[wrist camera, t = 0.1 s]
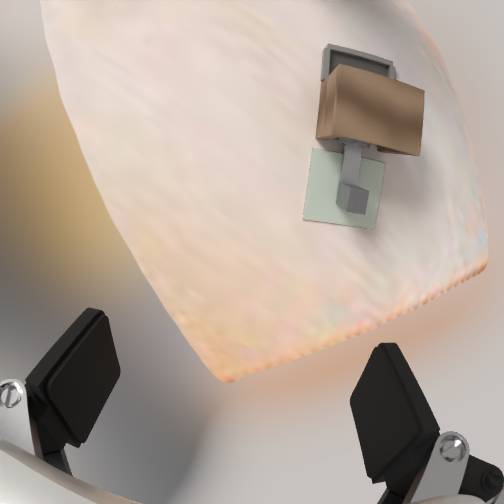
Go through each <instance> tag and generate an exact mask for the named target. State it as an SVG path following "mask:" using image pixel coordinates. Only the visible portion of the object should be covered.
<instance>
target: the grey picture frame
mask: <svg viewBox="0 0 504 504" xmlns="http://www.w3.org/2000/svg"><path fill="white" fill-rule="evenodd" d="M339 64H342V65H347V66H351V67H355V68H358V69H362V70H366V71H369V72H373V73H376V74H379V75H382V76H386V77H389V78H392V79H395V67H393V62H392V61H389V60H386V59H383V58H380V57H377V56H374V55H371V54H367V53H364V52H360V51H357V50H353V49H349V48H345V47H341V46H336V45H332V44H327V46H326V48H324V50H323V58H322V71H321V81H324V80H325V79H326V78H327V77H328V76H329V75H330V74H331V73H332V71H333V70H334V69H335V68H336V67H337V66H338V65H339Z"/></svg>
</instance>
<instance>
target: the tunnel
mask: <svg viewBox="0 0 504 504" xmlns="http://www.w3.org/2000/svg"><path fill="white" fill-rule="evenodd" d="M424 92H425V91H424V90H421V89H419V88H416V87H414V86H411V85H409V84H406V83H403V82H400V81H397V80H395V79H392V78H389V77H386V76H382V75H379V74H376V73H373V72H369V71H366V70H362V69H358V68H355V67H351V66H347V65H342V64H339V65H338V66H337V67H336V68H335V69H334V70H333V71H332V73H331V74H330V75H329V76H328V77H327V78H326V79H325V80H324V81H323V82H322V84H321V91H320V102H319V112H318V121H317V130H316V138H318V139H323V140H325V139H332V138H339V137H344V138H349V139H353V140H358V141H362V142H366V143H371V144H375V145H378V150H377V151H380V152H384V153H394V154H404V155H414V156H419V155H420V147H421V138H422V127H423V113H424Z"/></svg>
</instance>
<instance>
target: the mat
mask: <svg viewBox="0 0 504 504" xmlns="http://www.w3.org/2000/svg"><path fill="white" fill-rule="evenodd" d="M342 160H343V154H341V153H336V152H331V151H325V150H319V149H313V148H312V154H311V162H310V169H309V177H308V184H307V191H306V198H305V205H304V212H303V218H302V219H305V220H313V221H320V222H327V223H335V224H342V225H349V226H355V227H362V228H369V229H374V225H375V220H376V215H377V211H378V205H379V200H380V195H381V189H382V183H383V177H384V171H385V164H386V163H383V162H379V161H374V160H370V159H365V158H361V162H360V169H359V175H358V182H357V186H359V187H361V188H364V189H366V190H368V191H369V196H368V202H367V207H366V213H365V215H363V214H357V213H350V212H346V211H345V210H344V209H342V208H341V207H340V206H339V205H337V204H336V198H337V191H338V185H339V181H340V174H341V167H342Z"/></svg>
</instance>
